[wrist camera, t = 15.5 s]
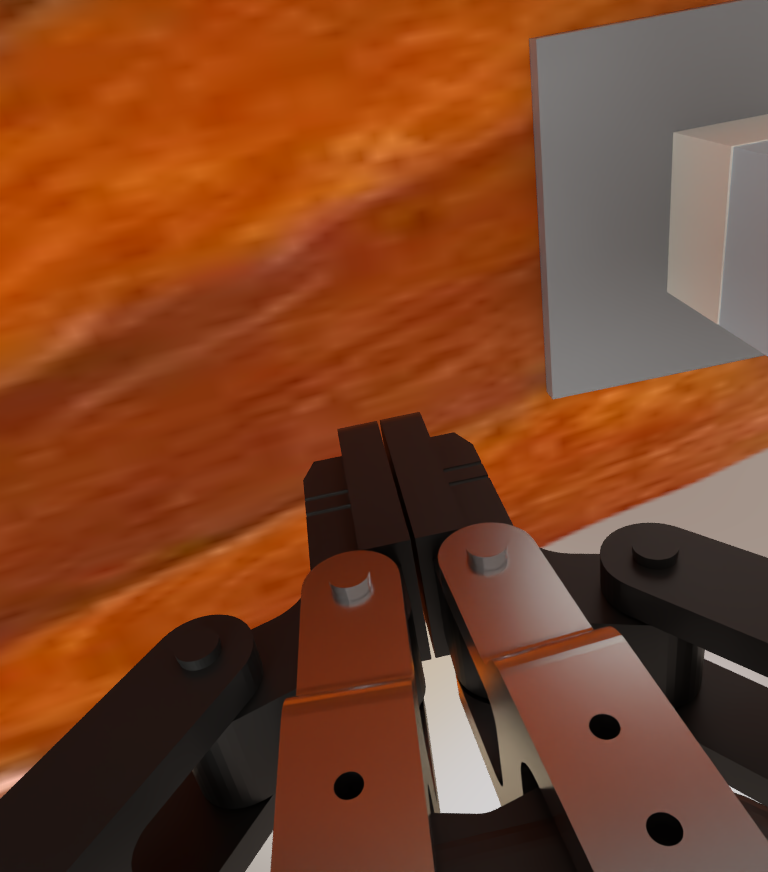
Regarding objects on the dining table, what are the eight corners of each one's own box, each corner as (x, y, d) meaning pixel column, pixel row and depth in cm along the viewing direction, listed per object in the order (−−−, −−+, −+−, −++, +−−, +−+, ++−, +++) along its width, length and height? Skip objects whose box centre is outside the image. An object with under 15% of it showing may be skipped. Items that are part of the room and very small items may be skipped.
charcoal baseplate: (528, 38, 33) (536, 38, 32) (907, -32, 34) (923, -34, 33) (546, 391, 42) (552, 399, 41) (844, 329, 42) (857, 335, 42)
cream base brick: (673, 132, 35) (731, 146, 30) (773, 112, 35) (845, 123, 31) (667, 292, 39) (717, 324, 34) (756, 273, 39) (818, 303, 35)
